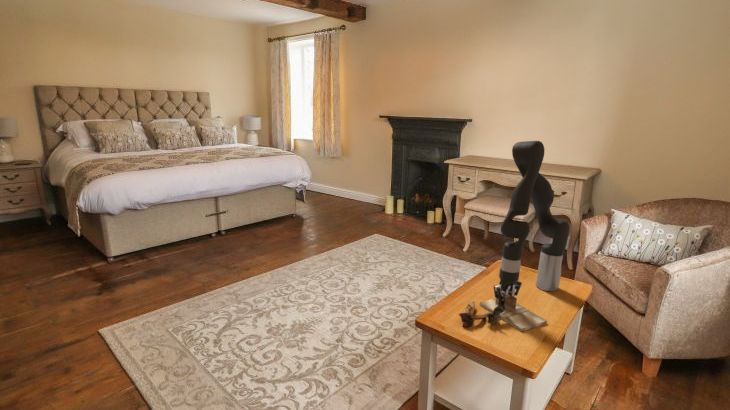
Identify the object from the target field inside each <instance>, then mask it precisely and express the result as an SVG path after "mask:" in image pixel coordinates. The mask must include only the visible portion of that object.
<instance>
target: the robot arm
mask: <svg viewBox="0 0 730 410" xmlns="http://www.w3.org/2000/svg"><path fill="white" fill-rule="evenodd" d="M511 148H512V149H511V151H512V152H511V155H512V158H513V161H514V163H515V166H516V168H517V169H518V171H519V173H520V175H521V180H520V181H519V182H518V183H517V184H516V186H515V187H514V189H513V191H512V193H511V198H510V203H509V209H508V211H507V214H506V215H505V218H504V220H503V221H502V223H501V226H500V234H501V235H502V236H503V237H507V238H513V239H518V240H516V241H507V242H505V243H504V244H503V249H502V255H501V260H500V266H499V274H498V278H499V280H500V281H499V283H498V285H493V292H494V299H495V298H497V299H499V302H498V306H499V305H504V301H505V297H506V296H507V294H510V295H512V296H514V297H517V296H518V294H519V292H520V289H521V287H522V283H523V282H522V281H519V280H520V273H521V272H520V271H521V266H522V261H521V260H522V252H523V248H524V245H525V243H526V240H527V238H528V237H529V235H530V231H531V226H530V224H529V223H528V222H526V221H521V220H516V219H515V217H518V216H519V217H520V216H527V215H528V213H529V210H530V209H529V208H530V203H532V205H533V209H534V211H535V214H536V218H537V222H538V225H539V226H538V227H539V231H540V232H541V234H542V235H543V236H545V237H547V238H550V239H552V241H551V243H543V244H542V245H541V249H540V254H539V261H538V268H537V275H536V281H535V282H536V283H535V287H536V288H537V289H540V290H542V291H546V292H556V291H557V290H558V289H559V286H560V282H561V274H562V264H563V263H562V262H563V258H564V257H563V256H564V252H565V250H566V248H567V243H568V239H569V236H570V230H571V229H570V228H571V227H570V224H569V222H568V221H566V220H563V219H560V218H556V217H554V216H553V214H552V212H551V209H550V208H551V207H552V205H553V202H554V200H555V193H554V191H553V188H552V185H551V183H550V182H549V180H548V179H547V178H546V177H545V176H543V175H542V174H541V173H540V170H541V166H542V165H543V164H542V163H543V161H544V157H545V146H544V143H543V142H542V141H540V140H529V141H528V140H527V141H518V142H515V143H514V145H513V146H512V147H511ZM503 291H504V292H505V293H504V292H503ZM502 294H503V297H502Z"/></svg>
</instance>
